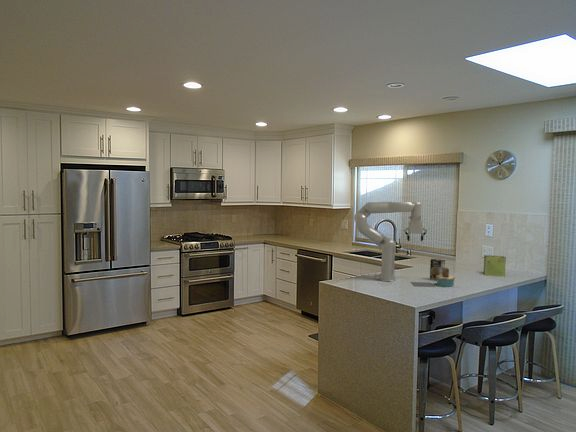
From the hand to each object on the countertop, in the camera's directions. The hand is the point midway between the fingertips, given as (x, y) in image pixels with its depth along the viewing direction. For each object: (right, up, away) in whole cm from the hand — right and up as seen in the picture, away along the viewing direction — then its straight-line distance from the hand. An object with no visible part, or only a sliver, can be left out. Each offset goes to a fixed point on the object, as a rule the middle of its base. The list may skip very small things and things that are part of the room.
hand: (415, 240), depth 330 cm
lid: (+17, -26, -16) cm, 35 cm away
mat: (+1, -31, -14) cm, 34 cm away
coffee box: (+18, -31, +3) cm, 36 cm away
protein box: (+74, -30, +31) cm, 86 cm away
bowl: (+17, -32, -16) cm, 39 cm away
